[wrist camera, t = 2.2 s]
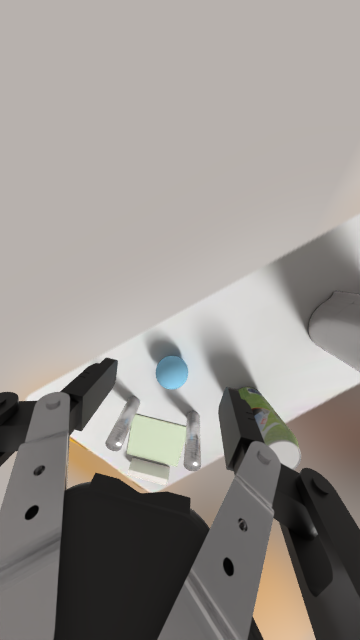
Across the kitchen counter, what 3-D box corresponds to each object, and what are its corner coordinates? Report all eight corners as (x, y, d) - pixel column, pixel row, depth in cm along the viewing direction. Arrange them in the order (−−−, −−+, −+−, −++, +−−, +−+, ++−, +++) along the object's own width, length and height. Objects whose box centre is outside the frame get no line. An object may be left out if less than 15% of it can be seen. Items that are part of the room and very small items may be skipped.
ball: (162, 347, 31) (155, 362, 26) (191, 354, 31) (190, 371, 25) (157, 372, 32) (149, 392, 27) (185, 379, 32) (182, 400, 27)
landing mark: (133, 413, 36) (133, 414, 36) (188, 427, 35) (188, 428, 35) (126, 452, 39) (126, 453, 39) (176, 465, 39) (176, 466, 39)
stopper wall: (132, 457, 40) (128, 469, 37) (169, 467, 39) (168, 479, 37) (131, 463, 40) (127, 475, 38) (168, 472, 40) (166, 485, 38)
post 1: (128, 395, 35) (106, 436, 26) (140, 398, 35) (122, 440, 26) (127, 405, 35) (104, 448, 27) (139, 408, 35) (120, 452, 27)
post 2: (188, 410, 34) (185, 457, 26) (201, 413, 34) (202, 461, 26) (185, 419, 35) (182, 468, 26) (197, 423, 35) (198, 472, 26)
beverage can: (222, 400, 33) (236, 470, 21) (246, 373, 31) (275, 435, 19) (249, 416, 33) (277, 492, 22) (274, 390, 31) (319, 460, 20)
